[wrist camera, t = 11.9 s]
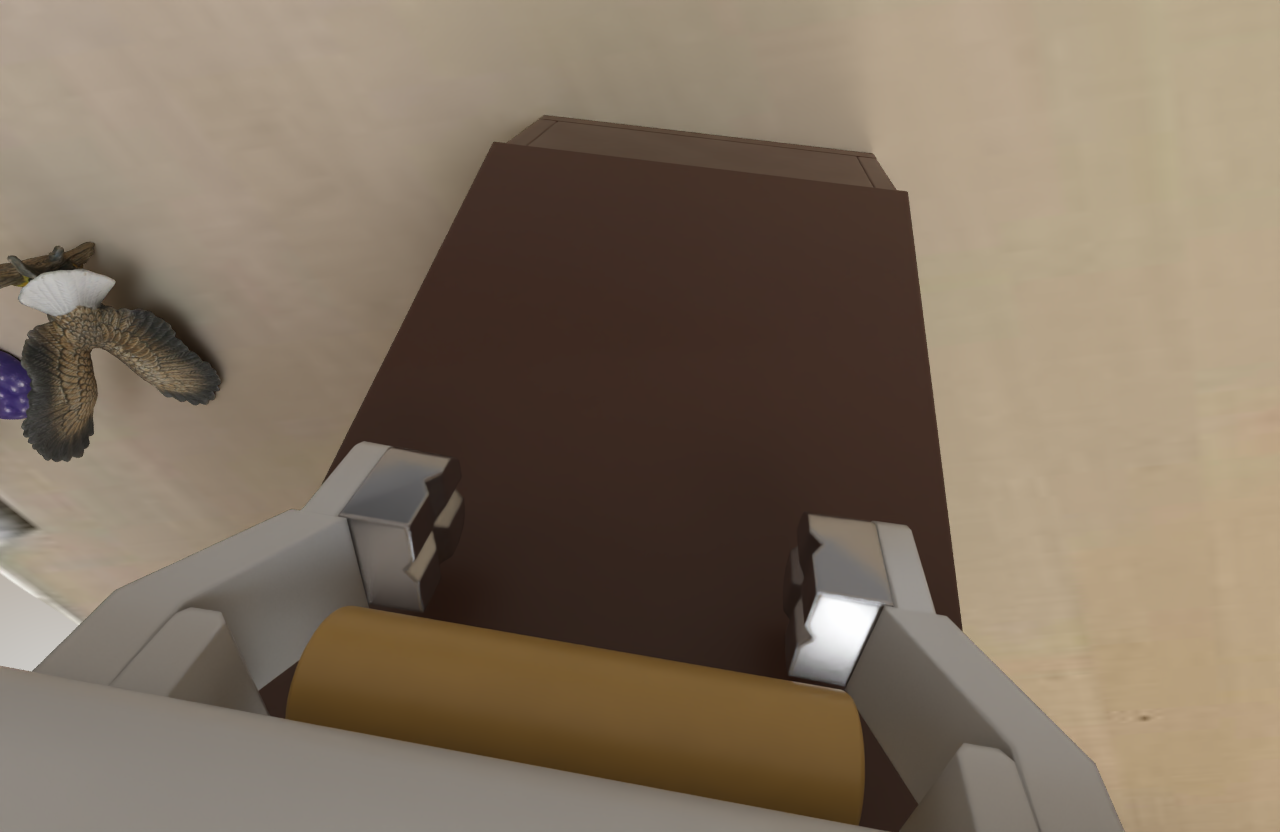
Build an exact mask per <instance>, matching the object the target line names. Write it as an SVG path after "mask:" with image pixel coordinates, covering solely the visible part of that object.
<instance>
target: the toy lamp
mask: <svg viewBox="0 0 1280 832" xmlns="http://www.w3.org/2000/svg"><path fill="white" fill-rule="evenodd" d="M30 382H31V379H30V378H29V376H28V375H27V371H26V370H25V369H24V368H23V367H22V366H21V362H20V361H19V360H17V359H16V358H14V357H13V356H11V355H9V354H8V353H5V352H2V351H0V418H1V419H23V418H27V414H26V410H27V409H28V408H29V399H28V398H27V394H28V393H29V392H30V390H31V387H30Z"/></svg>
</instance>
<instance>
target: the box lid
mask: <svg viewBox="0 0 1280 832" xmlns="http://www.w3.org/2000/svg"><path fill="white" fill-rule="evenodd" d="M363 441H365V442H371V443H376V444H382V445H387V446H392V447H394V446H397V447H402V448H408V449H413V450H419V451H425V452H430V453H436V454H441V455H447V456H453V457H455V458H457V459H458V460H459V461H460V468H461V474H462V478H461V480H460V481H459V483H458V485H457V487H456V490H457V491H458V492H459V493H460V494H461V495H462V497H463V498H464V503H465V519H464V526H463V530H462V534H461V538H460V541H459V544H458V546H457V548H456V550H455V552H454V554H453V556H452V557H450V558H449V559H447V560H445V561H444V562H442V563H441V564H440V572H441V580H440V582H439V584H438V586H437V588H436V590H435V592H434V594H433V596H432V598H431V600H430V602H429V603H428V605H427V607H426V609H425V611H424V613H422V612H415V611H408V610H401V609H394V608H387V607H380V606H373V605H368V606H369V608H364V607H358V606H345V607H341V608H339V609H337V610H335V611H334V612H332V613H331V614H330V615H329V616H328V617H326V618H325V620H324V621H323V622H322V623H321V624H320V625H319V627H318V628H317V629H316V631H315V632H314V634H313V635H312V637H311V638H310V640H309V642H308V644H307V646H306V647H305V649H304V651H303V654H302V656H301V658H300V660H299V661H297V662H296V663H295V664H293V665H292V666H291V667H289V668H288V669H287V670H285V671H284V672H283V673H281V674H280V675H279V676H277V677H276V678H275V679H273V680H272V681H271V682H269V683H268V684H267V685H265V686H264V687H263V688H261V689H260V690H259V693H260V695H261V698H262V700H263V702H264V704H265V706H266V708H267V710H268V712H269V715H270V716H272V717H278V718H283V719H288V720H294V721H299V722H304V723H310V724H315V725H321V726H326V727H331V728H337V729H342V730H347V731H353V732H358V733H364V734H369V735H374V736H380V737H385V738H390V739H396V740H401V741H406V742H412V743H417V744H423V745H428V746H433V747H439V748H444V749H449V750H455V751H460V752H465V753H471V754H476V755H482V756H487V757H492V758H498V759H503V760H508V761H514V762H519V763H524V764H530V765H535V766H540V767H546V768H551V769H556V770H562V771H567V772H572V773H578V774H583V775H588V776H594V777H599V778H605V779H610V780H615V781H621V782H626V783H631V784H637V785H642V786H647V787H653V788H658V789H663V790H669V791H674V792H679V793H685V794H690V795H695V796H701V797H706V798H711V799H717V800H722V801H728V802H733V803H738V804H744V805H749V806H754V807H760V808H765V809H771V810H776V811H781V812H787V813H792V814H797V815H803V816H808V817H814V818H819V819H824V820H830V821H835V822H840V823H846V824H851V825H857V826H862V827H867V828H873V829H878V830H883V831H889V832H899V831H900V829H901V828H902V826H903V825H904V824H905V822H906V821H907V820H908V818H909V817H910V815H911V814H912V813H913V811H914V810H915V809H916V807H917V806H918V803H917V802H916V800H915V799H914V797H913V795H912V794H911V792H910V791H909V789H908V788H907V786H906V784H905V783H904V781H903V780H902V778H901V777H900V775H899V773H898V772H897V770H896V769H895V767H894V766H893V764H892V763H891V761H890V759H889V758H888V756H887V755H886V753H885V752H884V750H883V748H882V747H881V745H880V744H879V742H878V741H877V739H876V738H875V736H874V734H873V733H872V731H871V730H870V728H869V727H868V725H867V723H866V722H865V720H864V719H863V717H862V716H861V714H860V713H859V711H858V709H857V707H856V705H855V702H854V700H853V699H852V697H851V696H850V695H849V694H848V693H847V692H846V691H845V688H846V687H843V686H838V685H833V684H828V683H823V682H818V681H813V680H808V679H803V678H798V677H793V676H788V675H787V670H786V654H785V637H784V636H785V633H786V630H787V627H788V624H789V621H790V619H789V618H788V616H787V615H786V614H785V613H784V611H783V581H784V574H785V568H786V564H787V560H788V556H789V553H790V550H792V549H793V548H795V547H796V546H798V542H797V527H798V524H799V521H800V518H801V516H802V514H803V513H804V511H807V512H814V513H821V514H828V515H834V516H841V517H848V518H855V519H861V520H868V521H879V522H886V523H894V524H901V525H907V526H908V527H909V528H910V530H911V531H912V534H913V538H914V541H915V544H916V548H917V551H918V555H919V558H920V561H921V565H922V568H923V571H924V575H925V578H926V582H927V585H928V588H929V592H930V595H931V599H932V602H933V605H934V609H935V612H936V614H937V615H943V616H947V617H948V618H949V619H950V620H951V621H952V622H953V623H954V624H955V625H956V626H957V627H958V628H959V629H960V630H961V631H962V632H963V630H962V622H961V614H960V606H959V598H958V590H957V582H956V574H955V566H954V558H953V550H952V542H951V534H950V526H949V518H948V510H947V502H946V494H945V486H944V478H943V470H942V462H941V454H940V446H939V438H938V430H937V422H936V414H935V406H934V398H933V390H932V382H931V374H930V366H929V358H928V350H927V342H926V334H925V326H924V318H923V310H922V302H921V294H920V286H919V278H918V270H917V262H916V254H915V246H914V238H913V230H912V222H911V214H910V206H909V198H908V192H906V191H899V190H891V189H882V188H874V187H866V186H857V185H849V184H841V183H833V182H824V181H816V180H808V179H799V178H791V177H783V176H775V175H766V174H758V173H750V172H741V171H733V170H725V169H717V168H708V167H700V166H692V165H683V164H675V163H667V162H659V161H650V160H642V159H634V158H625V157H617V156H609V155H601V154H592V153H584V152H576V151H568V150H559V149H551V148H543V147H534V146H526V145H518V144H510V143H501V142H493V144H492V146H491V148H490V150H489V152H488V154H487V156H486V158H485V160H484V162H483V164H482V166H481V168H480V170H479V172H478V174H477V176H476V178H475V180H474V182H473V184H472V186H471V188H470V190H469V192H468V194H467V196H466V198H465V200H464V202H463V204H462V206H461V208H460V210H459V212H458V214H457V216H456V218H455V220H454V222H453V223H452V225H451V227H450V229H449V231H448V233H447V235H446V237H445V239H444V241H443V243H442V245H441V247H440V249H439V251H438V253H437V255H436V257H435V259H434V261H433V263H432V265H431V267H430V269H429V271H428V273H427V275H426V277H425V279H424V281H423V283H422V285H421V287H420V289H419V291H418V293H417V295H416V297H415V299H414V301H413V303H412V305H411V307H410V309H409V311H408V313H407V315H406V317H405V319H404V321H403V323H402V325H401V327H400V329H399V331H398V333H397V335H396V337H395V339H394V341H393V343H392V345H391V347H390V349H389V351H388V353H387V355H386V357H385V359H384V361H383V363H382V365H381V367H380V369H379V371H378V373H377V375H376V377H375V379H374V381H373V383H372V385H371V387H370V389H369V391H368V393H367V395H366V397H365V399H364V401H363V403H362V405H361V407H360V409H359V411H358V413H357V415H356V417H355V419H354V421H353V423H352V425H351V427H350V429H349V431H348V433H347V435H346V437H345V439H344V441H343V443H342V445H341V447H340V449H339V451H338V453H337V455H336V457H335V459H334V461H333V463H332V465H331V467H330V469H329V471H328V473H327V475H326V477H325V479H324V481H323V483H324V482H325V481H326V479H327V478H328V477H329V476H330V475H331V473H332V472H333V471H334V470H335V469H336V467H337V466H338V465H339V464H340V462H341V461H342V460H343V459H344V458H345V456H346V455H347V454H348V453H349V452H350V450H351V449H352V448H353V447H354V446H355V445H356V444H359V443H361V442H363ZM323 483H322V484H323Z"/></svg>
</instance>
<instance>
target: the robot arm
mask: <svg viewBox="0 0 1280 832" xmlns="http://www.w3.org/2000/svg"><path fill="white" fill-rule="evenodd" d="M461 478H462V474H461V468H460V461H459V460H458V459H457V458H455V457H453V456H447V455H441V454H436V453H430V452H425V451H419V450H413V449H408V448H402V447H397V446H394V447H392V446H387V445H382V444H376V443H371V442H365V441H363V442H361V443H359V444H356V445H355V446H354V447H353V448H352V449H351V450H350V452H349V453H348V454H347V455H346V456H345V458H344V459H343V460H342V461H341V462H340V464H339V465H338V466H337V467H336V469H335V470H334V471H333V472H332V473H331V475H330V476H329V477H328V478H327V479H326V481H325V482H324V483H323V484H322V485H321V487H320V488H319V489H318V490H317V491H316V493H315V494H314V495H313V496H312V497H311V499H310V500H309V501H308V502H307V503H306V505H305V506H304V507H303V508H302V509H301V510H295V509H290V510H288V511H286V512H283V513H281V514H279V515H277V516H275V517H273V518H270V519H268V520H266V521H264V522H262V523H260V524H257V525H255V526H253V527H251V528H249V529H247V530H244V531H242V532H240V533H238V534H236V535H234V536H231V537H229V538H227V539H225V540H223V541H221V542H218V543H216V544H214V545H212V546H210V547H208V548H205V549H203V550H201V551H199V552H197V553H195V554H192V555H190V556H188V557H186V558H184V559H182V560H179V561H177V562H175V563H173V564H171V565H169V566H166V567H164V568H162V569H160V570H158V571H156V572H153V573H151V574H149V575H147V576H145V577H143V578H140V579H138V580H136V581H134V582H132V583H129V584H127V585H125V586H123V587H121V588H119V589H116V590H115V591H114V592H113V593H112V594H111V595H110V596H108V597H107V598H106V599H105V600H104V601H103V602H102V603H101V604H100V605H99V606H98V607H97V608H96V609H95V610H94V611H93V612H92V613H91V614H90V615H89V616H88V617H87V618H86V619H85V620H84V621H83V622H82V623H81V624H80V625H79V626H78V627H77V628H76V629H75V630H74V631H73V632H72V633H71V634H70V635H69V636H68V637H67V638H66V639H65V640H64V641H63V642H62V643H61V644H59V646H57V648H56V649H54V650H53V651H52V652H51V653H50V654H49V655H48V656H47V657H46V658H45V659H44V660H43V661H42V662H41V663H40V664H39V665H38V666H37V667H36V668H35V669H34V670H33V671H32V672H31V671H25V670H19V669H14V668H9V667H4V666H0V832H889V831H883V830H878V829H873V828H867V827H862V826H857V825H851V824H846V823H840V822H835V821H830V820H824V819H819V818H814V817H808V816H803V815H797V814H792V813H787V812H781V811H776V810H771V809H765V808H760V807H754V806H749V805H744V804H738V803H733V802H728V801H722V800H717V799H711V798H706V797H701V796H695V795H690V794H685V793H679V792H674V791H669V790H663V789H658V788H653V787H647V786H642V785H637V784H631V783H626V782H621V781H615V780H610V779H605V778H599V777H594V776H588V775H583V774H578V773H572V772H567V771H562V770H556V769H551V768H546V767H540V766H535V765H530V764H524V763H519V762H514V761H508V760H503V759H498V758H492V757H487V756H482V755H476V754H471V753H465V752H460V751H455V750H449V749H444V748H439V747H433V746H428V745H423V744H417V743H412V742H406V741H401V740H396V739H390V738H385V737H380V736H374V735H369V734H364V733H358V732H353V731H347V730H342V729H337V728H331V727H326V726H321V725H315V724H310V723H304V722H299V721H294V720H288V719H283V718H278V717H272V716H270V715H269V712H268V710H267V708H266V706H265V704H264V702H263V700H262V698H261V695H260V693H259V690H260V689H261V688H263V687H264V686H265V685H267V684H268V683H269V682H271V681H272V680H273V679H275V678H276V677H277V676H279V675H280V674H281V673H283V672H284V671H285V670H287V669H288V668H289V667H291V666H292V665H293V664H295V663H296V662H297V661H299V660H300V658H301V656H302V654H303V651H304V649H305V647H306V646H307V644H308V642H309V640H310V638H311V637H312V635H313V634H314V632H315V631H316V629H317V628H318V627H319V625H320V624H321V623H322V622H323V621H324V620H325V618H326V617H328V616H329V615H330V614H331V613H332V612H334V611H335V610H337V609H339V608H341V607H345V606H358V607H364V608H369V606H368V605H373V606H380V607H387V608H394V609H401V610H408V611H415V612H422V613H424V611H425V609H426V607H427V605H428V603H429V602H430V600H431V598H432V596H433V594H434V592H435V590H436V588H437V586H438V584H439V582H440V580H441V572H440V564H441V563H442V562H444V561H445V560H447V559H449V558H450V557H452V556H453V554H454V552H455V550H456V548H457V546H458V544H459V541H460V538H461V534H462V530H463V526H464V519H465V503H464V498H463V497H462V495H461V494H460V493H459V492H458V491H457V490H456V487H457V485H458V483H459V481H460V480H461ZM797 542H798V546H796V547H795V548H793V549H792V550H790V553H789V556H788V560H787V564H786V568H785V574H784V581H783V611H784V613H785V614H786V615H787V616H788V618H789V619H790V621H789V624H788V627H787V630H786V633H785V636H784V637H785V654H786V670H787V675H788V676H793V677H798V678H803V679H808V680H813V681H818V682H823V683H828V684H833V685H838V686H843V687H846V688H845V691H846V692H847V693H848V694H849V695H850V696H851V697H852V699H853V700H854V702H855V705H856V707H857V709H858V711H859V713H860V714H861V716H862V717H863V719H864V720H865V722H866V723H867V725H868V727H869V728H870V730H871V731H872V733H873V734H874V736H875V738H876V739H877V741H878V742H879V744H880V745H881V747H882V748H883V750H884V752H885V753H886V755H887V756H888V758H889V759H890V761H891V763H892V764H893V766H894V767H895V769H896V770H897V772H898V773H899V775H900V777H901V778H902V780H903V781H904V783H905V784H906V786H907V788H908V789H909V791H910V792H911V794H912V795H913V797H914V799H915V800H916V802H917V803H918V806H917V807H916V809H915V810H914V811H913V813H912V814H911V815H910V817H909V818H908V820H907V821H906V822H905V824H904V825H903V826H902V828H901V829H900V831H899V832H1125V831H1124V829H1123V827H1122V824H1121V822H1120V820H1119V817H1118V815H1117V813H1116V810H1115V808H1114V806H1113V803H1112V801H1111V799H1110V796H1109V794H1108V792H1107V789H1106V787H1105V785H1104V783H1103V780H1102V778H1101V776H1100V773H1099V771H1098V769H1097V766H1096V764H1095V763H1094V762H1093V761H1092V760H1091V759H1090V758H1089V757H1088V756H1087V755H1086V754H1085V753H1084V752H1083V751H1082V750H1081V749H1080V748H1079V747H1078V746H1077V745H1076V744H1075V743H1074V742H1073V741H1072V740H1071V739H1070V738H1069V737H1068V736H1067V735H1066V734H1065V733H1064V732H1063V731H1062V730H1061V729H1060V728H1059V727H1058V726H1057V725H1056V724H1055V723H1054V722H1053V721H1052V720H1051V719H1050V718H1049V717H1048V716H1047V715H1046V714H1045V713H1044V712H1043V711H1042V710H1041V709H1040V708H1039V707H1038V706H1037V705H1036V704H1035V703H1034V702H1033V701H1032V700H1031V699H1030V698H1029V697H1028V696H1027V695H1026V694H1025V693H1024V692H1023V691H1022V690H1021V689H1020V688H1019V687H1018V686H1017V685H1016V684H1015V683H1014V682H1013V681H1012V680H1011V679H1010V678H1009V677H1008V676H1007V675H1006V674H1005V673H1004V672H1003V671H1002V670H1001V669H1000V668H999V667H998V666H997V665H996V664H994V663H993V662H992V661H991V660H990V659H989V658H988V657H987V656H986V655H985V654H984V653H983V652H982V651H981V650H980V649H979V648H978V647H977V646H976V645H975V644H974V643H973V642H972V641H971V640H970V639H969V638H968V637H967V636H966V635H965V634H964V633H963V632H962V631H961V630H960V629H959V628H958V627H957V626H956V625H955V624H954V623H953V622H952V621H951V620H950V619H949V618H948V617H947V616H943V615H937V614H936V612H935V609H934V605H933V602H932V599H931V595H930V592H929V588H928V585H927V582H926V578H925V575H924V571H923V568H922V565H921V561H920V558H919V555H918V551H917V548H916V544H915V541H914V538H913V534H912V531H911V530H910V528H909V527H908V526H907V525H901V524H894V523H886V522H879V521H868V520H861V519H855V518H848V517H841V516H834V515H828V514H821V513H814V512H807V511H804V513H803V514H802V516H801V518H800V521H799V524H798V527H797Z"/></svg>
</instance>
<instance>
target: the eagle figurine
mask: <svg viewBox="0 0 1280 832" xmlns="http://www.w3.org/2000/svg"><path fill="white" fill-rule="evenodd" d="M93 247H94V243H91V242H87V243H83V244H81V245H79V246H78V247H76V248H74V249H72V250H70V251H67V252H64V249H63V248H62V247H60V246H56V247H55V248H54V250H53V251H52V252H51V253H49V255H45V256H40V257H35V258H31V259H26V260H22V261H21V260H20V259H18V258H17V257H16V256H8V258H7V259H8V261H9V262H10V263H5V264H0V289H1V288H3V287H7V286H9V285H14V286H18V287H23V288H22V290H21V293H20V295H19V297H18V300H19V302H20V303H21V304H24V305H26V306H29V307H31V308H34V309H36V310H39V311H41V312H43V313H46V314H47V317H48V320H49V323H46V324H43V325H38V326H36V327H35V328H34V329H33V330H30V331H29V332H28V334H27V336H28V337H29V339H26V340H25V345H24V347H23V351H22V359H21V366H22V367H23V368H24V369H25V370H26V371H27V375H28V376H29V378H30V379H31V382H30V387H31V390H30V392H29V393H28V394H27V398H28V399H29V408H28V409H27V410H26V414H27V418H26V419H25V420H24V421H23V423H22V426H21V428H22V429H23V430H24V433H23V435H24V437H29V440H28V442H29V443H30V444H32V447H33V449H34V450H37V452H38V453H39V454H40V455H42V456H43V457H44V459H45V460H47V461H49V460H50V459H52V460H53V461H55V462H59V461H61V460H63V461H66V462H68V461H70V459H71V458H72V456H73V457H76V458H80V457H82V456H83V453H84V449H86V448H87V447H88V446H89V444H90V443H89V436H92V435H93V434H94V423H93V408H94V406H95V403H96V400H97V396H98V392H97V383H96V379H95V376H94V371H93V364H92V360H91V354H90V353H91V351H92V349H93V348H102V349H104V350H106V351H108V352H110V353H111V354H112V355H114V356H115V357H117V358H118V359H119V360H121V361H122V362H123V363H124V364H126V365H127V366H128V367H129V368H130V369H131V370H132V371H134V372H135V373H136V374H137V375H139V376H140V377H141V378H143V379H144V380H145V381H147V382H149V383H150V384H152V385H154V386H155V387H156V388H157V389H158V390H159V391H160V392H161V393H162V394H163V395H164V396H166V397H173V398H175V399H177V400H178V401H180V402H184V401H186V400H187V401H188V402H190V403H191V404H193V405H199V404H200V403H201V404H204V405H207V404H208V401H209V400H214V399H215V394H214V392H213V391H219V390H220V388H219V387H218V386H217V385H220V384H221V381H220V378H219V376H218V375H216V374H217V373H216V370H215V369H213V368H211V365H210V364H209V363H208V362H204V361H202V360H201V358H200V357H199V356H198V355H197V354H196V353H195V352H192V351H188V347H187V346H186V345H184V344H183V342H182V341H181V340H180V339H178V338H176V337H175V334H176V333H175V331H173V330H172V329H171V325H170V324H169V323H166V322H165V321H164V320H163V319H161V318H159V317H156V316H155V315H154V314H153V313H152V312H150V311H148V310H147V311H144V310H142V309H140V308H137V309H135V310H128V309H125V308H121V309H119V310H115V309H114V308H113V307H111V306H105V305H103V304H102V303H101V302H102V301H103V300H104V298H105V296H106V295H107V294H108V292H109V291H110V290H111V289H112V287H113V286H114V284H115V280H114V279H112V278H110V277H108V276H106V275H102V274H97V273H94V272H91V271H89V270H86V269H83V264H85V263H86V262H87V261H88V259H89V257H90V256H92V255H93V253H94V251H93Z"/></svg>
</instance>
